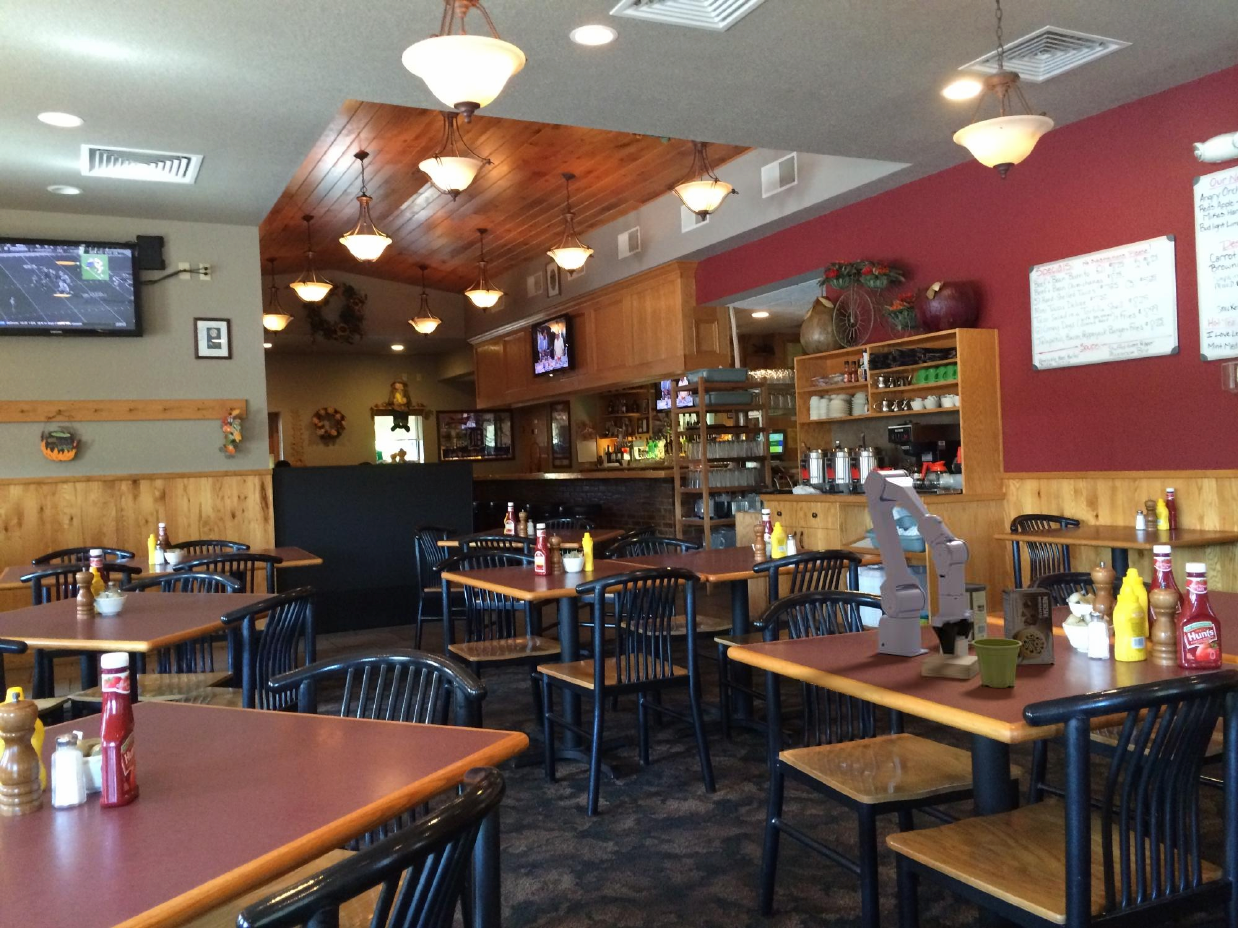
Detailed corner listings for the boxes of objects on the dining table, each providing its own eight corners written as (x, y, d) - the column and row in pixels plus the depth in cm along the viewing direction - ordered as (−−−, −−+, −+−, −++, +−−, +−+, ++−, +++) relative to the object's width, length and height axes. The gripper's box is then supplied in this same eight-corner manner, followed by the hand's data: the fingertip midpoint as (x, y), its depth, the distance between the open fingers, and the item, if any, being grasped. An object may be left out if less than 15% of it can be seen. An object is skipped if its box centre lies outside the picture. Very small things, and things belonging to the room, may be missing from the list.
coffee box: (1045, 658, 225) (1042, 587, 225) (1055, 664, 219) (1052, 590, 219) (1004, 659, 226) (1001, 588, 226) (1012, 664, 220) (1009, 591, 220)
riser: (921, 675, 212) (921, 661, 212) (934, 666, 221) (934, 653, 221) (970, 679, 207) (969, 664, 207) (981, 670, 215) (981, 656, 215)
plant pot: (1025, 690, 195) (1023, 646, 195) (974, 689, 198) (972, 645, 198) (1020, 680, 204) (1019, 638, 204) (972, 679, 207) (970, 637, 207)
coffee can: (950, 636, 258) (948, 582, 258) (992, 638, 253) (989, 583, 253) (940, 643, 249) (938, 586, 250) (982, 645, 244) (980, 588, 244)
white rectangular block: (940, 663, 224) (939, 636, 224) (950, 660, 227) (949, 634, 227) (958, 665, 221) (957, 638, 221) (968, 662, 224) (967, 635, 224)
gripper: (951, 598, 216) (953, 661, 216) (984, 591, 226) (987, 651, 226) (922, 596, 222) (924, 657, 222) (956, 589, 231) (958, 648, 231)
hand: (954, 654), depth 224 cm, fingers closed on white rectangular block, 4 cm apart
